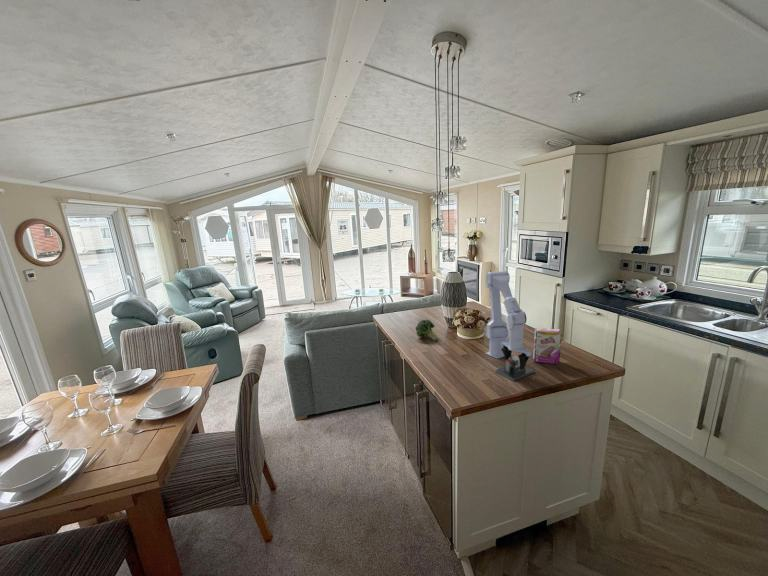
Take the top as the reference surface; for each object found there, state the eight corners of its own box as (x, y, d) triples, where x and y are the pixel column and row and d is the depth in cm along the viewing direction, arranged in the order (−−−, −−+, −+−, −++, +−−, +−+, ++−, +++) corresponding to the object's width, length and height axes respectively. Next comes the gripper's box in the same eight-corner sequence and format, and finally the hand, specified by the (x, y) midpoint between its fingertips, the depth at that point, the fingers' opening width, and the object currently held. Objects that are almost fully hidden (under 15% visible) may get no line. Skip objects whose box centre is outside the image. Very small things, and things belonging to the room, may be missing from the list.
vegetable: (426, 341, 180) (409, 325, 189) (430, 349, 190) (414, 334, 199) (441, 327, 182) (423, 312, 191) (444, 335, 192) (428, 321, 201)
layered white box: (514, 367, 146) (514, 355, 145) (521, 370, 143) (522, 358, 142) (507, 369, 144) (507, 357, 143) (514, 373, 141) (515, 361, 140)
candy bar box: (534, 362, 152) (535, 330, 149) (532, 358, 157) (534, 327, 153) (559, 364, 148) (562, 332, 145) (557, 360, 153) (560, 328, 150)
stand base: (516, 364, 151) (516, 350, 150) (534, 372, 143) (535, 358, 141) (495, 372, 145) (495, 357, 144) (513, 381, 136) (513, 366, 135)
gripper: (497, 334, 145) (496, 361, 148) (523, 344, 132) (522, 374, 135) (507, 331, 148) (506, 358, 151) (534, 341, 135) (533, 369, 138)
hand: (515, 365), depth 143 cm, fingers open, 7 cm apart
